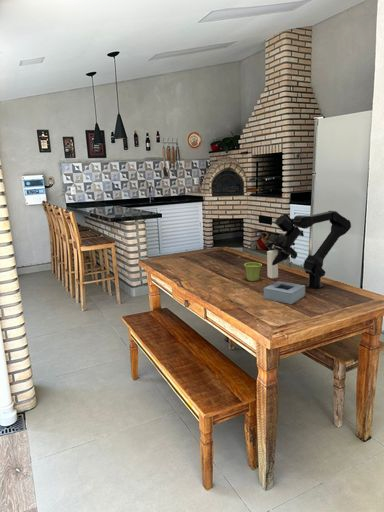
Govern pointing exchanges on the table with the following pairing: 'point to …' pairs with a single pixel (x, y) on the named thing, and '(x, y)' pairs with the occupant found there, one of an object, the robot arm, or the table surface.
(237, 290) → the table surface
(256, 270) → the plant pot
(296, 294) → the grey thick square frame
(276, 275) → the post
